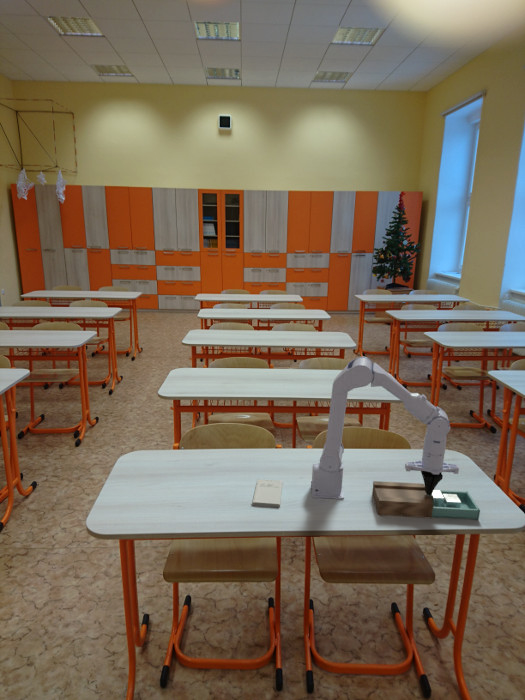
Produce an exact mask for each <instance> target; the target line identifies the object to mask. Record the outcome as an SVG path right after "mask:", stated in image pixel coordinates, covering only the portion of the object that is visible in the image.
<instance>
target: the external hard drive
mask: <svg viewBox="0 0 525 700" xmlns="http://www.w3.org/2000/svg"><path fill="white" fill-rule="evenodd" d="M283 483H284V481H283V480H273V479H257V482H256V485H255V490H254V494H253V495H254V496H253V499H252V506H262V507H271V508H281V504H282V503H281V502H282V493H283V485H284V484H283Z"/></svg>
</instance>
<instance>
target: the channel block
mask: <svg viewBox="0 0 525 700" xmlns="http://www.w3.org/2000/svg"><path fill="white" fill-rule="evenodd" d="M372 484H373V485H372V492H371V493H372V498H373V501H374V506H375V508H376V513H377V515H378V516H391V517H394V516H395V517H407V516H408V517H407V518H410V517H411V518H425V517H427V518H428V517H430V518H428V519H431V518H433V517H432V510H433V502H432V500H431V499H430V498H429V496H428V495H427V494H426V492H425V485H424V483H421V482H419V483H418V482H417V483H414V482H399V481H397V482H395V481H378V480H373V481H372Z"/></svg>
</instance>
